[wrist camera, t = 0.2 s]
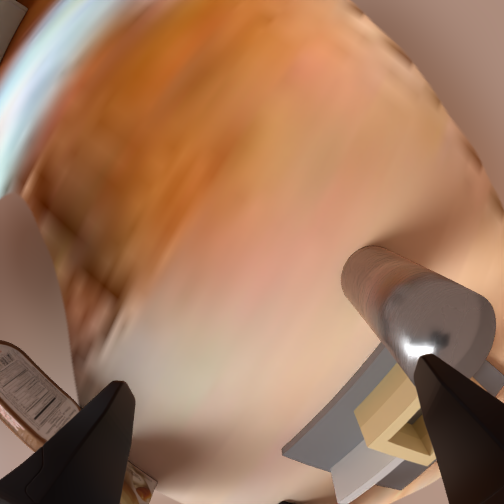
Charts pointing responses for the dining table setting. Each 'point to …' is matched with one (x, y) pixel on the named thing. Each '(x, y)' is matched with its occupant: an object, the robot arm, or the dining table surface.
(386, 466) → the grey plate with frame
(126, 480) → the coffee box
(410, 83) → the dining table surface
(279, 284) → the dining table surface
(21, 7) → the grey angular slab
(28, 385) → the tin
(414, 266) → the hinge pin
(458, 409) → the robot arm
